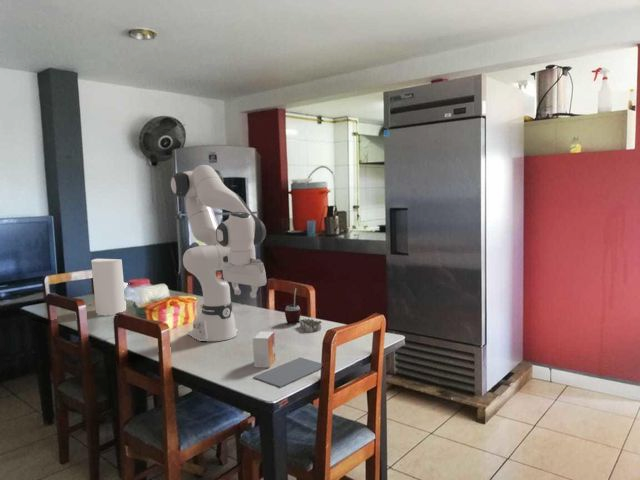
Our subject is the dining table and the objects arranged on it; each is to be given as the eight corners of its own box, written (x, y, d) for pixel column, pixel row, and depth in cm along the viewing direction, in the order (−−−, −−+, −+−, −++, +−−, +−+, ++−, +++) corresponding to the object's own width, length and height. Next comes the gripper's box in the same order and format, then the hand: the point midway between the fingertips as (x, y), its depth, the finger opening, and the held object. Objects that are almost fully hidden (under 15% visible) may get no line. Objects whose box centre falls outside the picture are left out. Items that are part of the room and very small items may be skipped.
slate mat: (253, 377, 160) (253, 376, 160) (300, 358, 176) (300, 357, 176) (280, 387, 151) (280, 386, 151) (327, 366, 167) (327, 365, 167)
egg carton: (322, 331, 209) (322, 321, 208) (306, 333, 206) (305, 324, 206) (314, 324, 219) (314, 315, 218) (298, 326, 216) (298, 317, 216)
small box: (269, 368, 168) (267, 338, 167) (253, 367, 169) (252, 338, 168) (276, 359, 176) (274, 331, 175) (261, 359, 177) (259, 331, 176)
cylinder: (112, 317, 246) (107, 262, 243) (88, 314, 253) (83, 261, 250) (139, 308, 261) (134, 256, 258) (115, 306, 269) (111, 256, 266)
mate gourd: (288, 326, 217) (287, 293, 215) (282, 322, 224) (280, 290, 222) (304, 323, 220) (302, 291, 218) (297, 319, 227) (296, 287, 225)
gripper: (269, 258, 170) (271, 297, 171) (232, 254, 183) (234, 291, 185) (255, 261, 165) (257, 301, 167) (218, 257, 179) (221, 294, 180)
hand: (245, 296), depth 176 cm, fingers open, 7 cm apart
